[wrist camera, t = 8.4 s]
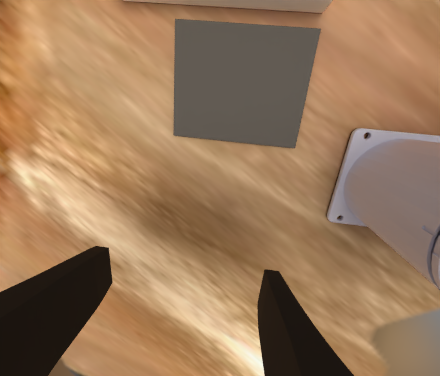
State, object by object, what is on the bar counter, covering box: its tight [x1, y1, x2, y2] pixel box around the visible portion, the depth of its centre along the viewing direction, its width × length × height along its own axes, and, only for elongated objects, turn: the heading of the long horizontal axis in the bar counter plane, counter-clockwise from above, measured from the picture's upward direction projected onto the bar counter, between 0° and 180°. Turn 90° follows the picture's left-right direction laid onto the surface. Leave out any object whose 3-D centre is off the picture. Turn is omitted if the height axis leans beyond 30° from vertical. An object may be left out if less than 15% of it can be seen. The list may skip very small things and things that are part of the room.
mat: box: [174, 19, 321, 148], centre depth 16 cm, size 10×8×1 cm
